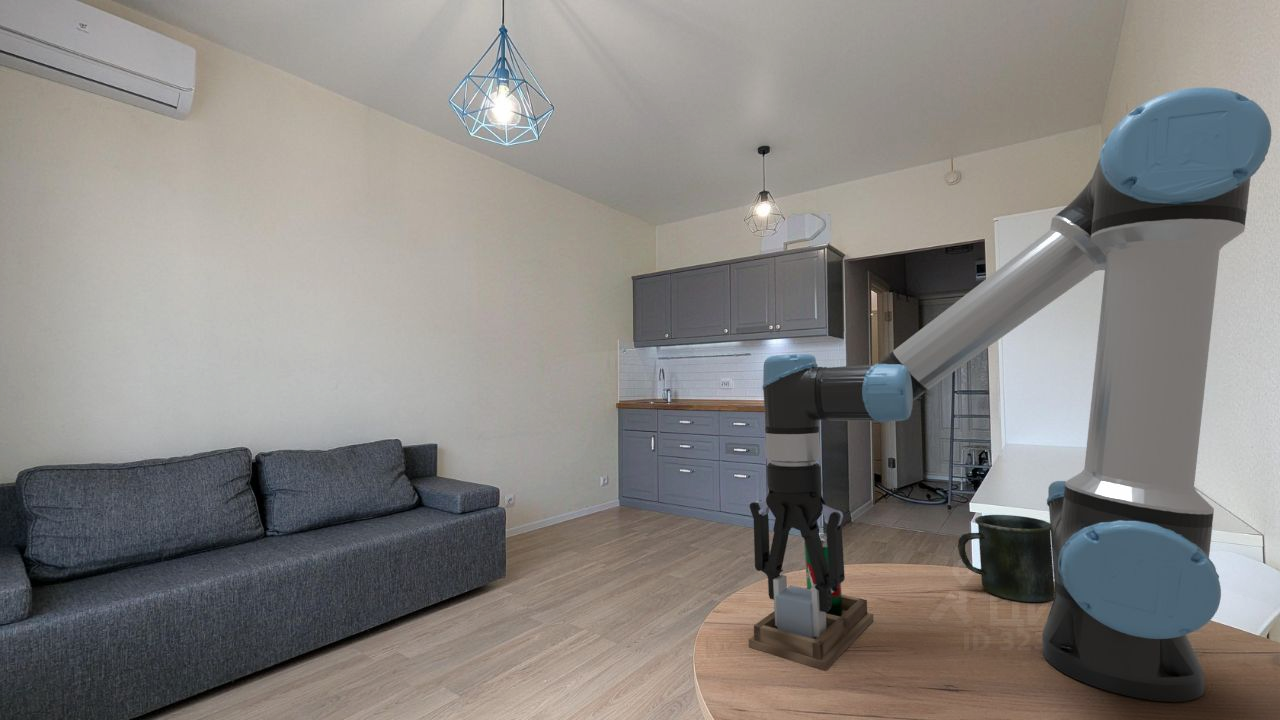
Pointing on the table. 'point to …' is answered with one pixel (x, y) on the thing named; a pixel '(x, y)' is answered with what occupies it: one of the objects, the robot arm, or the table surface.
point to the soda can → (810, 578)
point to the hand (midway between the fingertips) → (800, 627)
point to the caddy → (819, 649)
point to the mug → (1013, 557)
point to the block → (795, 611)
